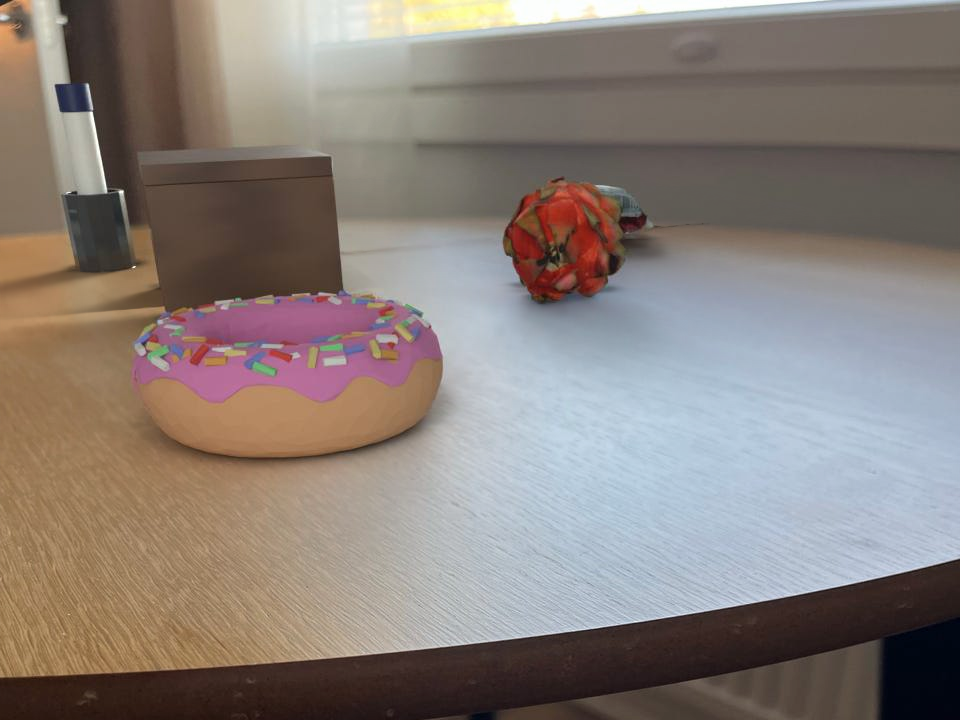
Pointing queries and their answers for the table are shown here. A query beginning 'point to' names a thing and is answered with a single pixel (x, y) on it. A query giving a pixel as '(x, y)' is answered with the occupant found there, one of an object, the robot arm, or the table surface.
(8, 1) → the robot arm
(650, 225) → the packaged food
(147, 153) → the desk cabinet
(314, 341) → the donut
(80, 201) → the pen cup
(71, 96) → the marker
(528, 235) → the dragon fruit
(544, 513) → the table surface
